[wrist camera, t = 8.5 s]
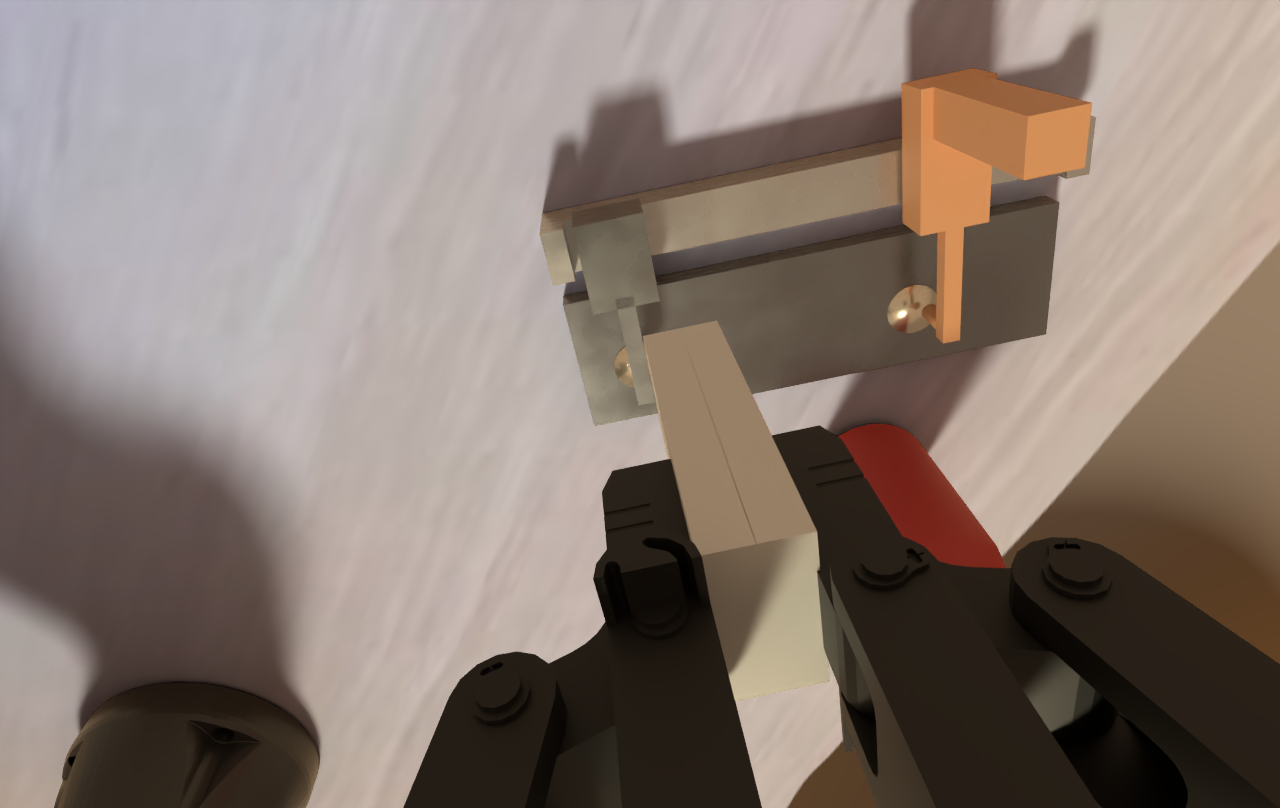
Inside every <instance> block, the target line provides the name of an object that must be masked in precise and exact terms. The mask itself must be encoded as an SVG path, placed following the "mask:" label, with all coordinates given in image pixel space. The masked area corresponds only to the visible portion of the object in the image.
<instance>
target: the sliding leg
mask: <svg viewBox="0 0 1280 808" xmlns="http://www.w3.org/2000/svg"><path fill="white" fill-rule="evenodd" d="M1091 109H1092V103H1090V102H1086V101H1082V100H1078V99H1074V98H1070V97H1066V96H1062V95H1058V94H1054V93H1050V92H1046V91H1041V90H1037V89H1033V88H1029V87H1025V86H1021V85H1017V84H1013V83H1009V82H1005V81H1001V80H997V74H996V73H992V72H988V71H983V70H979V69H975V68H972V69H967V70H962V71H957V72H953V73H948V74H943V75H939V76H934V77H929V78H925V79H920V80H915V81H910V82H906V83H902V195H903V224H905V225H906V226H907V227H909V228H910V229H911V230H913V231H914V232H915V233H917V234H918V235H919V236H924V235H929V234H934V233H938V241H937V300H936V305H934V304H928V305H926V306H925V307H924V308H923V309H922V316H923V317H924V318H925V319H926V320H927V321H928V322H929V323H930V324H931V325H932V326H933V327H934V328H935V329H936V337H937V338H938V339H939V340H940V341H941V342H942V343H948V342H953V341H958V340H960V325H961V296H962V268H963V239H964V227H967V226H972V225H977V224H982V223H987V222H989V215H990V196H991V177H992V166H993V167H995V168H997V169H999V170H1002V171H1004V172H1006V173H1008V174H1010V175H1013V176H1015V177H1017V178H1019V179H1021V180H1028V179H1033V178H1038V177H1042V176H1047V175H1052V174H1057V173H1062V172H1066V171H1071V170H1076V169H1081V168H1085V161H1086V152H1087V143H1088V135H1089V126H1090V117H1091Z"/></svg>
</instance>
